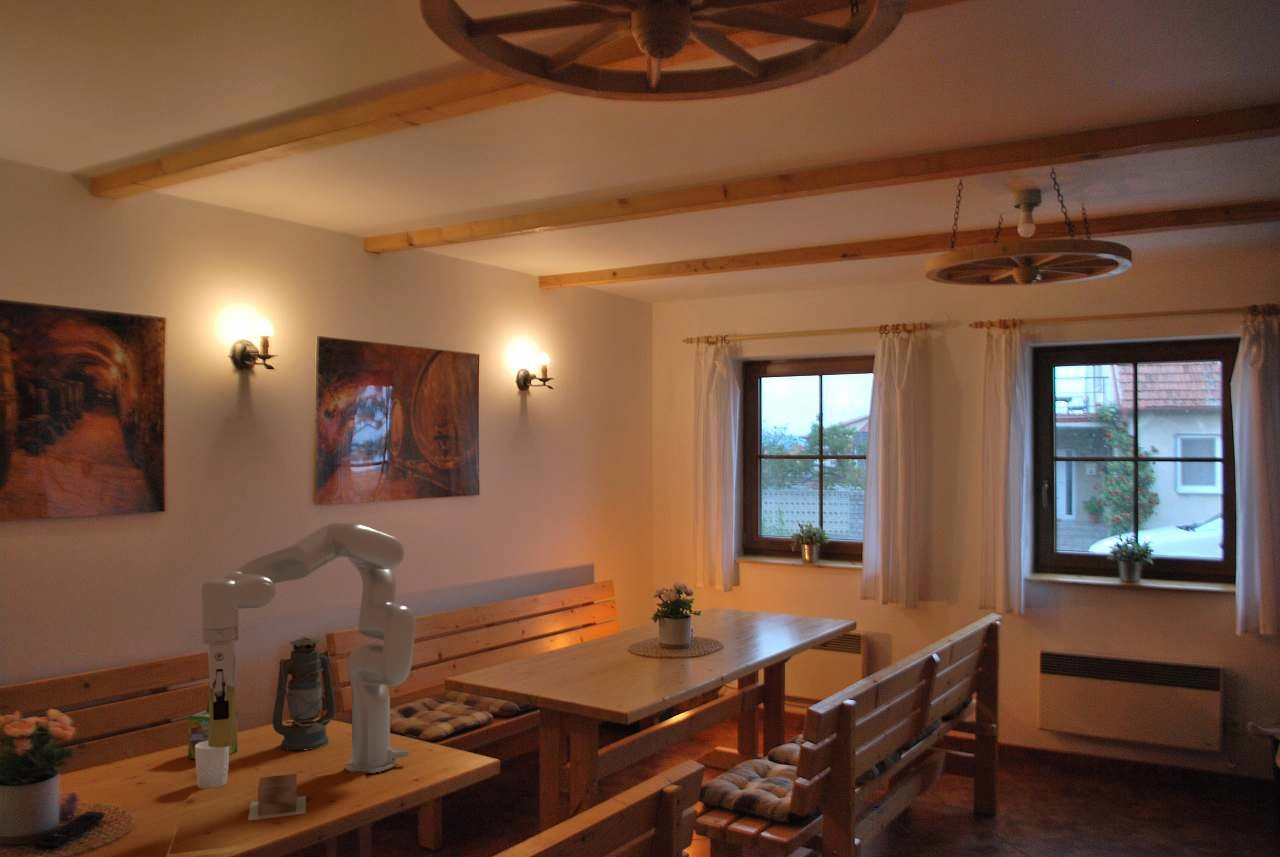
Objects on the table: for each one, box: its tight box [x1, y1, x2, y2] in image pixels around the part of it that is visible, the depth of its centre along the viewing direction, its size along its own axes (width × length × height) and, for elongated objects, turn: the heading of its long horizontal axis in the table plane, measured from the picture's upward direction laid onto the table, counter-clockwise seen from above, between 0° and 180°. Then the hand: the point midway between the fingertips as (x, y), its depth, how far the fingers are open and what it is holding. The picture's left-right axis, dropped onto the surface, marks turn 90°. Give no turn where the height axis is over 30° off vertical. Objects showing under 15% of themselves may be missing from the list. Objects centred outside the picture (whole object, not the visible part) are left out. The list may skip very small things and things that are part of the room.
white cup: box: [194, 741, 230, 790], centre depth 243 cm, size 8×8×10 cm
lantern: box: [272, 636, 343, 750], centre depth 276 cm, size 19×14×30 cm
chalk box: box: [187, 700, 239, 760], centre depth 267 cm, size 9×9×15 cm
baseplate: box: [247, 795, 307, 821], centre depth 224 cm, size 12×12×1 cm
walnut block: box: [257, 773, 298, 816], centre depth 224 cm, size 8×8×6 cm
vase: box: [208, 680, 239, 748], centre depth 221 cm, size 6×6×14 cm
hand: (222, 714), depth 221 cm, fingers closed on vase, 5 cm apart
